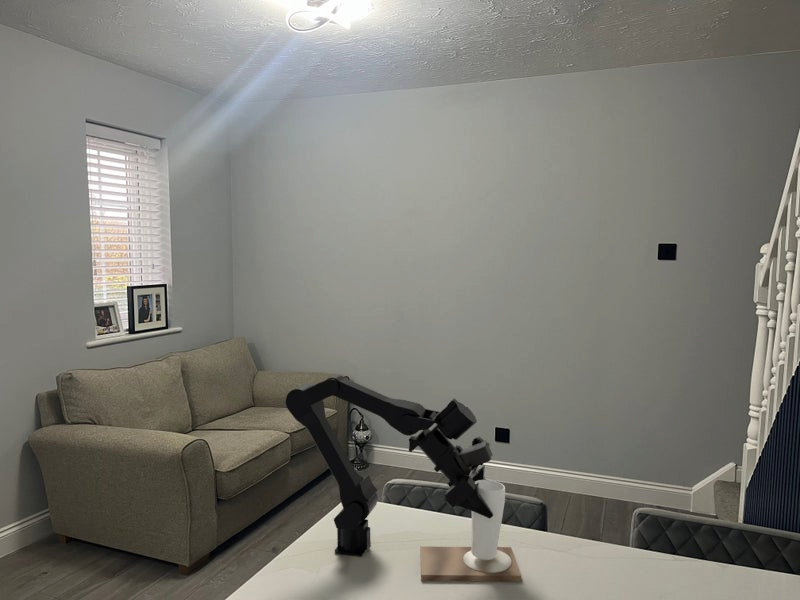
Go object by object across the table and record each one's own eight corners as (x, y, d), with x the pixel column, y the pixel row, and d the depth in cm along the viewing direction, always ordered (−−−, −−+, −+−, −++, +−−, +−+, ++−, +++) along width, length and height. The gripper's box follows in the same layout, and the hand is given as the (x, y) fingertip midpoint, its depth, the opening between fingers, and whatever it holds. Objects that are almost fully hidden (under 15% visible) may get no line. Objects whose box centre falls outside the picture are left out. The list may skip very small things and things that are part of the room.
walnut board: (421, 580, 119) (421, 574, 119) (420, 551, 131) (420, 545, 131) (521, 581, 119) (521, 574, 119) (511, 552, 131) (511, 546, 131)
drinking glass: (492, 566, 120) (498, 494, 120) (462, 556, 124) (467, 485, 123) (504, 554, 126) (510, 484, 125) (475, 544, 130) (481, 477, 129)
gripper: (462, 441, 115) (519, 504, 113) (475, 417, 133) (524, 470, 131) (422, 477, 118) (476, 538, 116) (440, 448, 136) (488, 501, 134)
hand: (493, 509), depth 124 cm, fingers closed on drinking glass, 7 cm apart
